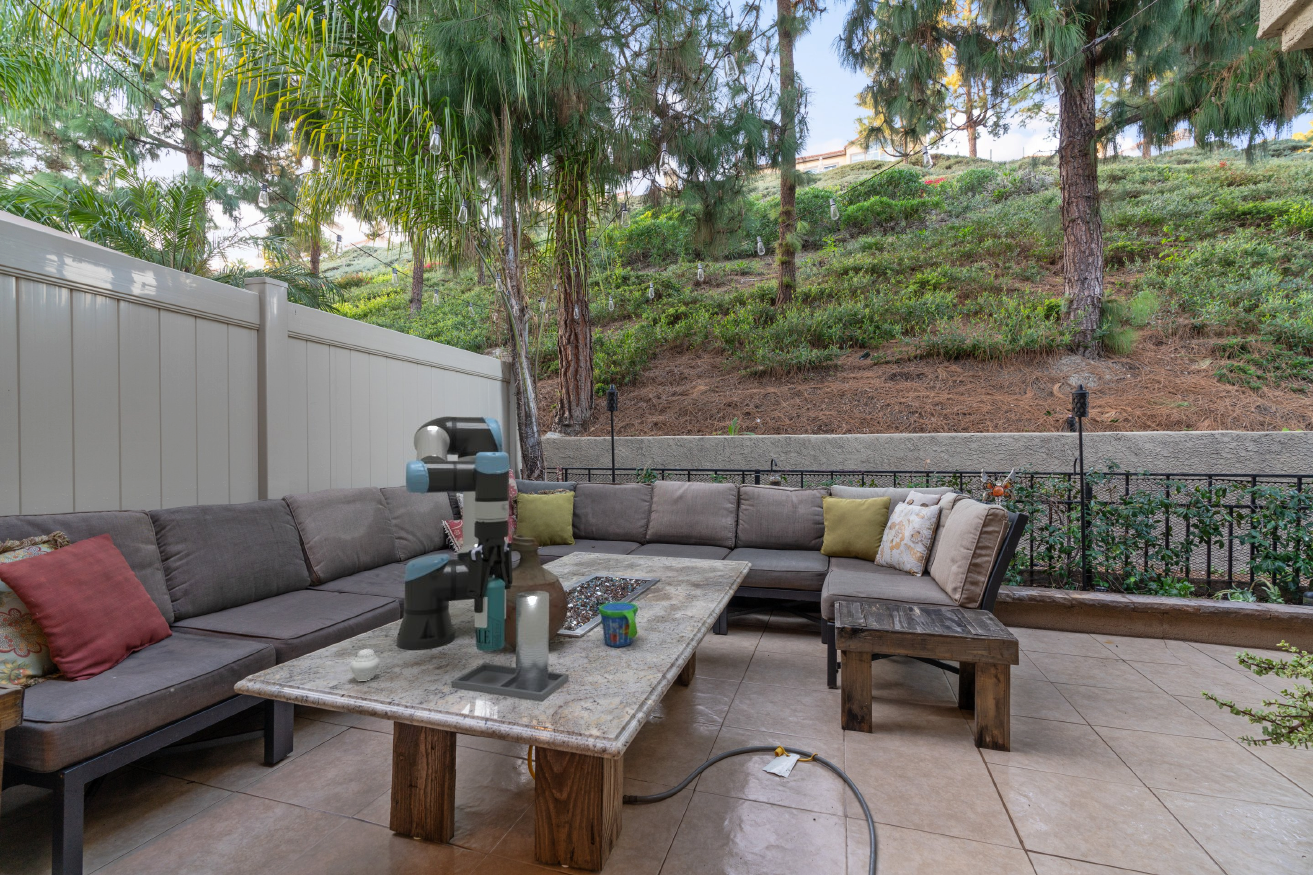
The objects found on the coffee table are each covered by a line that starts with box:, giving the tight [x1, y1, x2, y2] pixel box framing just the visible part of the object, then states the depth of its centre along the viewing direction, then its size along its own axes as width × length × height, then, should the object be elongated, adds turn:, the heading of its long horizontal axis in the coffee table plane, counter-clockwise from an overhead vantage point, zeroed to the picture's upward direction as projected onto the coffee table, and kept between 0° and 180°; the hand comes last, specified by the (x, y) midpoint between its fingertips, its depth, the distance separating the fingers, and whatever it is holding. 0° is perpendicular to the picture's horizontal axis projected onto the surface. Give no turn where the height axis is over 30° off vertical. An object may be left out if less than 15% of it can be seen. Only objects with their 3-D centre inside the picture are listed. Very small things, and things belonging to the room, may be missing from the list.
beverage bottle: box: [475, 564, 506, 652], centre depth 126 cm, size 6×7×20 cm
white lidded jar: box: [349, 648, 381, 681], centre depth 130 cm, size 6×6×7 cm
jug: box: [505, 533, 569, 649], centre depth 153 cm, size 22×22×30 cm
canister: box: [515, 591, 550, 692], centre depth 123 cm, size 7×7×20 cm
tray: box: [450, 662, 569, 702], centre depth 124 cm, size 12×22×2 cm, turn 72°
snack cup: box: [598, 601, 639, 648], centre depth 155 cm, size 16×10×10 cm
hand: (490, 622), depth 126 cm, fingers closed on beverage bottle, 6 cm apart
